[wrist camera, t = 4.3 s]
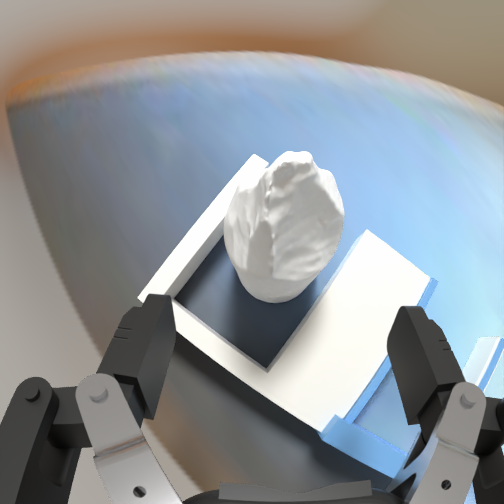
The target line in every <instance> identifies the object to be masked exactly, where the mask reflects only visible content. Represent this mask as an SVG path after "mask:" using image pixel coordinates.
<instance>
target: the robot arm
mask: <svg viewBox="0 0 504 504" xmlns="http://www.w3.org/2000/svg"><path fill="white" fill-rule="evenodd" d="M175 341H176V324H175V318H174V312H173V305H172V299H171V296H170V295H163V294H151V293H149V294H148V295H147V297H146V299H145V301H144V303H143V305H142V307H133V308H132V309H130V310H129V311H128V312H127V313H126V314H125V315H124V316H123V318H122V320H121V322H120V324H119V326H118V329H117V330H116V332H115V334H114V338H112V340H111V342H110V344H109V347H108V349H107V351H106V353H105V355H104V357H103V360H102V362H101V364H100V366H99V368H98V371H97V372H96V374H93V375H90V376H88V377H86V378H84V379H83V380H82V381H81V382H80V383H79V385H78V386H75V387H62V388H52V387H51V386H50V384H49V383H48V382H47V381H46V380H45V379H43V378H40V377H32V378H28V379H26V380H25V381H23V382H22V383H21V384H20V385H19V386H18V387H17V389H16V391H15V393H14V395H13V397H12V399H11V402H10V404H9V406H8V408H7V410H6V413H5V415H4V417H3V420H2V422H1V424H0V504H68V499H69V495H70V491H71V486H72V482H73V478H74V475H75V471H76V467H77V463H78V459H79V456H80V452H81V449H82V448H87V447H93V449H94V452H95V456H94V463H95V466H96V469H97V471H98V473H99V476H100V478H101V480H102V482H103V485H104V487H105V489H106V491H107V494H108V496H109V498H110V500H111V502H112V504H464V501H465V499H466V496H467V494H468V491H469V488H470V486H471V483H472V482H473V488H474V493H475V499H476V504H504V455H503V452H502V448H501V446H502V445H503V444H504V398H503V399H497V398H490V397H485V395H484V393H483V392H482V390H481V389H480V388H479V387H478V386H476V385H475V384H473V383H469V382H466V380H465V378H464V375H463V373H462V371H461V369H460V367H459V364H458V362H457V360H456V358H455V356H454V354H453V351H451V347H450V345H449V343H448V342H447V339H446V337H445V335H444V333H443V331H442V329H441V328H440V327H439V326H438V325H437V324H436V323H435V322H434V321H433V320H429V319H428V317H427V315H426V313H425V311H424V309H423V308H422V307H421V306H401V307H400V308H399V310H398V312H397V315H396V317H395V320H394V323H393V325H392V328H391V330H390V332H389V335H388V338H387V353H388V356H389V359H390V363H391V366H392V369H393V372H394V376H395V379H396V382H397V386H398V389H399V393H400V396H401V400H402V403H403V407H404V411H405V414H406V418H407V422H408V425H414V424H420V427H421V430H420V431H419V432H418V434H417V436H416V438H415V440H414V442H413V444H412V446H411V448H410V450H409V452H408V454H407V456H406V458H405V460H404V462H403V464H402V466H401V468H400V469H399V471H398V473H397V474H396V476H395V477H394V479H393V480H392V481H391V482H390V483H389V485H388V486H387V487H386V489H385V490H381V489H376V488H371V481H370V480H364V481H355V482H345V483H335V484H332V485H329V486H325V487H322V488H319V489H315V490H311V491H308V492H304V493H298V494H296V493H291V492H286V491H282V490H277V489H273V488H269V487H265V486H261V485H251V484H235V483H223V482H220V489H219V490H212V491H208V492H203V493H200V494H198V495H195V496H193V497H190V498H188V499H186V500H185V501H183V502H182V500H181V499H180V497H179V496H178V494H177V493H176V491H175V489H174V488H173V486H172V485H171V483H170V481H169V480H168V478H167V476H166V475H165V473H164V471H163V470H162V468H161V466H160V464H159V463H158V461H157V459H156V457H155V456H154V454H153V452H152V450H151V448H150V446H149V445H148V443H147V441H146V439H145V437H144V435H143V433H142V431H141V429H140V428H141V425H142V421H143V418H146V419H151V420H154V416H155V413H156V409H157V405H158V402H159V398H160V394H161V391H162V387H163V383H164V380H165V376H166V373H167V369H168V366H169V362H170V359H171V356H172V352H173V349H174V345H175Z"/></svg>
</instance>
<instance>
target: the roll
mask: <svg viewBox="0 0 504 504" xmlns="http://www.w3.org/2000/svg"><path fill="white" fill-rule="evenodd" d="M343 224H344V208H343V203H342V199H341V196H340V194H339V192H338V188H337V185H336V182H335V179H334V177H333V175H332V174H331V172H329V171H327V170H322V169H319V168H318V167H317V166H316V164H315V163H314V160H313V157H312V155H311V154H310V153H309V152H291V151H288V152H285V153H284V154H282V155H281V156H280V157H278V158H277V159H276V160H275V161H274V163H273V164H272V165H271V166H270V167H269V168H266V169H262V170H259V171H256V172H252V173H249V174H247V175H246V176H245V177H244V178H243V179H242V180H241V181H240V182H239V184H238V185H237V187H236V190H235V193H234V195H233V197H232V199H231V202H230V204H229V207H228V210H227V213H226V215H225V219H224V228H223V232H224V241H225V246H226V249H227V253H228V255H229V258H230V260H231V262H232V264H233V265H234V267H235V269H236V271H237V273H238V276H239V279H240V281H241V283H242V285H243V286H244V287H245V289H246V290H247V291H248V292H249V293H250V294H251V295H252V296H254V297H255V298H257V299H259V300H262V301H265V302H268V303H281V302H286V301H289V300H291V299H293V298H295V297H296V296H298V295H299V294H301V293H302V291H303V290H304V289H305V288H306V287H307V286H308V285H309V284H310V283H311V282H312V281H313V280H314V279H315V277H316V276H317V275H318V274H319V273H320V272H321V271H322V270H323V269H324V268H325V266H326V265H327V264H328V263H329V261H330V260H331V258H332V257H333V255H334V254H335V252H336V249H337V247H338V245H339V242H340V239H341V235H342V230H343Z"/></svg>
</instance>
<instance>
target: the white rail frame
mask: <svg viewBox="0 0 504 504" xmlns="http://www.w3.org/2000/svg"><path fill="white" fill-rule="evenodd" d="M266 168H268V162H266V161H264V160H263V159H261V158H260V157H258V156H256V155H255V154H253V155H252V156H251V157H250V159H249V160H248V161H247V162H246V163H245V164H244V166H243V167H242V168H241V169H240V170H239V171H238V173H237V174H236V175H235V176H234V177H233V178H232V180H231V181H230V182H229V183H228V184H227V185H226V187H225V188H224V189H223V190H222V191H221V193H220V194H219V195H218V196H217V197H216V199H215V200H214V201H213V202H212V203H211V205H210V206H209V207H208V208H207V210H206V211H205V212H204V213H203V214H202V216H201V217H200V218H199V219H198V221H197V222H196V223H195V224H194V226H193V227H192V228H191V229H190V230H189V232H188V233H187V234H186V235H185V237H184V238H183V239H182V241H181V242H180V243H179V244H178V246H177V247H176V248H175V249H174V251H173V252H172V253H171V255H170V256H169V257H168V258H167V260H166V261H165V262H164V264H163V265H162V266H161V267H160V269H159V270H158V271H157V273H156V274H155V275H154V277H153V278H152V279H151V281H150V282H149V283H148V285H147V286H146V287H145V289H144V290H143V291H142V293H141V294H140V295H139V297H138V299H139V300H140V301H142V302H143V303H144V301H145V299H146V297H147V295H148V294H149V293H151V294H163V295H170V296H171V299H172V305H173V312H174V318H175V324H176V331H178V332H179V333H180V334H181V335H182V336H184V337H185V338H186V339H188V340H189V341H190V342H191V343H193V344H194V345H195V346H196V347H198V348H199V349H200V350H202V351H203V352H204V353H206V354H207V355H208V356H209V357H211V358H212V359H213V360H215V361H216V362H217V363H219V364H220V365H221V366H223V367H224V368H226V369H227V370H228V371H230V372H231V373H232V374H234V375H235V376H236V377H238V378H239V379H241V380H242V381H243V382H245V383H246V384H248V385H249V386H251V387H252V388H253V389H255V390H256V391H258V392H259V393H261V394H262V395H264V396H265V397H267V398H268V399H269V400H271V401H272V402H274V403H275V404H277V405H278V406H280V407H282V408H283V409H285V410H286V411H288V412H289V413H291V414H292V415H294V416H295V417H297V418H299V419H300V420H302V421H303V422H305V423H306V424H308V425H310V426H311V427H313V428H315V430H316V431H317V433H318V434H319V436H320V437H321V439H322V440H323V441H325V442H326V443H328V444H330V445H332V446H333V447H335V448H337V449H338V450H340V451H342V452H344V453H346V454H347V455H349V456H351V457H353V458H355V459H356V460H358V461H360V462H362V463H364V464H366V465H368V466H370V467H372V468H373V469H375V470H377V471H379V472H381V473H383V474H385V475H387V476H389V477H391V478H393V479H394V477H395V476H396V474H397V473H398V471H399V469H400V468H401V466H402V464H403V462H404V460H405V458H406V456H407V454H408V453H406V452H404V451H402V450H400V449H399V448H397V447H395V446H393V445H391V444H390V443H388V442H386V441H384V440H383V439H381V438H379V437H378V436H376V435H374V434H372V433H371V432H369V431H367V430H366V429H364V428H362V427H361V426H359V425H357V424H356V423H354V422H353V421H354V420H355V418H356V417H357V416H358V414H359V413H360V412H361V410H362V409H363V407H364V406H365V405H366V403H367V402H368V400H369V399H370V398H371V396H372V395H373V393H374V392H375V390H376V389H377V387H378V386H379V384H380V383H381V381H382V380H383V378H384V377H385V375H386V374H387V372H388V371H389V369H390V368H391V363H390V359H389V356H387V354H388V353H387V338H388V335H389V332H390V330H391V328H392V325H393V323H394V320H395V317H396V315H397V312H398V310H399V308H400V307H401V306H416V305H417V306H421V307H422V308H423V309H425V307H426V305H427V304H428V302H429V300H430V298H431V296H432V294H433V292H434V290H435V288H436V286H437V284H438V281H436V280H435V279H434V278H431V279H430V277H428V276H427V275H426V274H425V273H423V272H422V271H421V270H420V269H418V268H417V267H416V266H414V265H413V264H412V263H411V262H409V261H408V260H407V259H405V258H404V257H403V256H402V255H400V254H399V253H398V252H396V251H395V250H394V249H392V248H391V247H390V246H388V245H387V244H386V243H384V242H383V241H382V240H380V239H379V238H378V237H376V236H375V235H374V234H372V233H371V232H370V231H368V230H366V231H365V232H364V233H363V234H362V235H360V236H359V237H358V238H357V239H356V240H355V242H354V244H353V245H352V247H351V248H350V250H349V251H348V253H347V254H346V256H345V258H344V259H343V261H342V262H341V264H340V265H339V267H338V268H337V270H336V271H335V273H334V274H333V276H332V277H331V279H330V280H329V282H328V283H327V285H326V286H325V288H324V289H323V291H322V292H321V294H320V295H319V296H318V298H317V299H316V301H315V302H314V304H313V305H312V307H311V308H310V309H309V311H308V312H307V314H306V315H305V317H304V318H303V319H302V321H301V322H300V324H299V325H298V326H297V328H296V329H295V331H294V332H293V333H292V335H291V336H290V338H289V339H288V340H287V342H286V343H285V344H284V346H283V347H282V348H281V350H280V351H279V352H278V354H277V355H276V357H275V358H274V359H273V361H272V362H271V363H270V364H269V366H268V367H267V368H265V367H263V366H262V365H261V364H259V363H258V362H256V361H255V360H254V359H252V358H251V357H249V356H248V355H247V354H245V353H244V352H242V351H241V350H240V349H238V348H237V347H236V346H234V345H233V344H232V343H230V342H229V341H227V340H226V339H225V338H223V337H222V336H221V335H219V334H218V333H217V332H216V331H214V330H213V329H212V328H210V327H209V326H208V325H206V324H205V323H204V322H202V321H201V320H200V319H199V318H197V317H196V316H195V315H193V314H192V313H191V312H190V311H188V310H187V309H186V308H185V307H183V306H182V305H181V304H180V303H178V302H177V301H176V300H175V299H174V298H175V297H176V295H177V294H178V293H179V291H180V290H181V289H182V288H183V286H184V285H185V284H186V282H187V281H188V280H189V278H190V277H191V276H192V274H193V273H194V272H195V271H196V269H197V268H198V267H199V265H200V264H201V263H202V262H203V260H204V259H205V258H206V256H207V255H208V254H209V253H210V251H211V250H212V249H213V247H214V246H215V245H216V244H217V242H218V241H219V240H220V238H221V237H222V236H223V235H224V232H223V228H224V219H225V215H226V213H227V210H228V207H229V204H230V202H231V199H232V197H233V195H234V193H235V190H236V187H237V185H238V184H239V182H240V181H241V180H242V179H243V178H244V177H245V176H246V175H247V174H249V173H252V172H256V171H259V170H262V169H266ZM429 280H430V281H429ZM428 282H429V283H428ZM427 284H428V285H427ZM426 285H427V287H426ZM425 287H426V289H425ZM424 289H425V291H424ZM423 291H424V293H423ZM422 293H423V295H422ZM421 295H422V297H421ZM420 297H421V299H420ZM419 299H420V300H419ZM418 301H419V302H418ZM417 303H418V304H417ZM503 351H504V339H500V338H499V337H498V336H496V337H479V338H478V340H477V342H476V344H475V347H474V349H473V351H472V353H471V355H470V357H469V359H468V361H467V363H466V365H465V367H464V369H463V370H462V373H463V375H464V378H465V380H466V382H469V383H473V384H475V385H476V386H478V387H479V388H480V389H481V390H482V392H483V393H484V391H485V389H486V387H487V385H488V383H489V381H490V379H491V377H492V375H493V373H494V371H495V368H496V366H497V364H498V362H499V360H500V358H501V355H502V353H503ZM386 356H387V357H386ZM385 357H386V359H385ZM384 359H385V360H384ZM383 361H384V362H383ZM382 362H383V363H382ZM381 364H382V365H381ZM380 365H381V367H380ZM379 367H380V368H379ZM378 368H379V370H378ZM377 370H378V371H377ZM376 371H377V373H376ZM375 373H376V374H375ZM374 374H375V376H374ZM373 376H374V377H373ZM372 377H373V379H372ZM371 379H372V380H371ZM370 380H371V382H370ZM369 382H370V383H369ZM368 383H369V385H368ZM367 385H368V386H367ZM366 386H367V387H366ZM365 388H366V389H365ZM364 389H365V390H364ZM363 390H364V392H363ZM362 392H363V393H362ZM361 393H362V395H361ZM360 395H361V396H360ZM359 396H360V397H359ZM358 398H359V399H358ZM357 399H358V400H357ZM356 400H357V402H356ZM355 402H356V403H355ZM354 403H355V404H354ZM353 404H354V406H353ZM352 406H353V407H352ZM351 407H352V408H351ZM350 409H351V410H350ZM349 410H350V411H349ZM348 411H349V413H348ZM347 413H348V414H347ZM346 414H347V415H346ZM345 415H346V417H345Z"/></svg>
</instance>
